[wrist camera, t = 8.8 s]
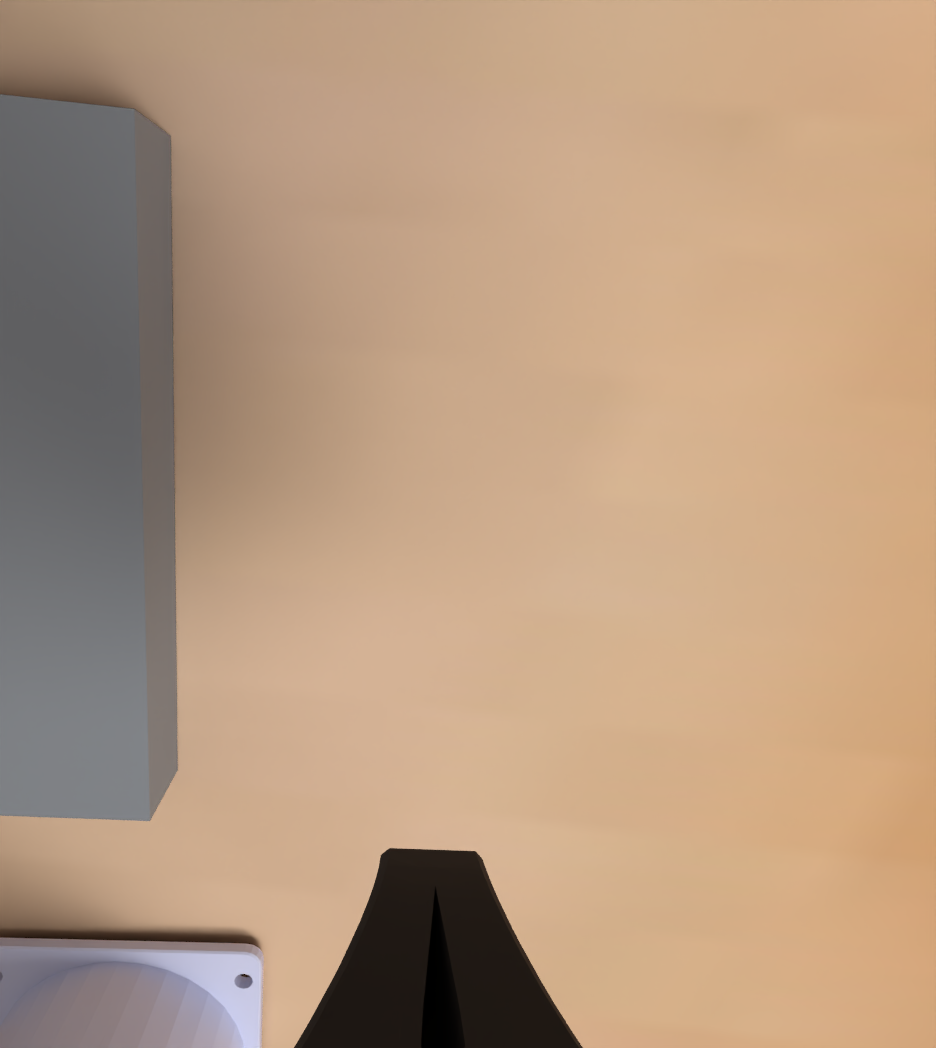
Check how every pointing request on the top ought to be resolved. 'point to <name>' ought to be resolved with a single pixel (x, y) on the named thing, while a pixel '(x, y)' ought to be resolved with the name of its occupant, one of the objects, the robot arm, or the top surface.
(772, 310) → the top surface
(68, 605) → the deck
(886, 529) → the top surface
